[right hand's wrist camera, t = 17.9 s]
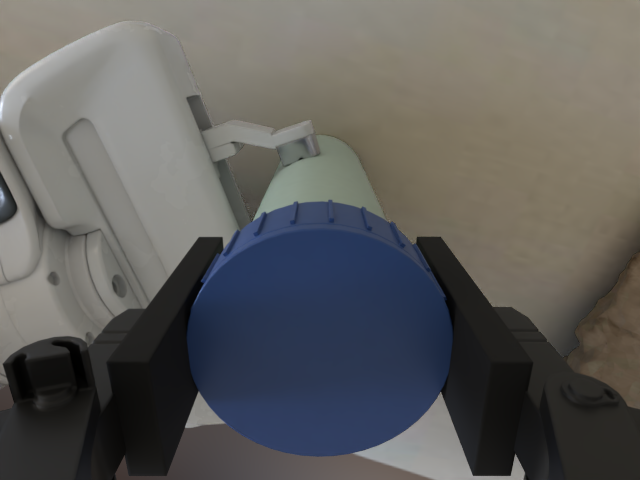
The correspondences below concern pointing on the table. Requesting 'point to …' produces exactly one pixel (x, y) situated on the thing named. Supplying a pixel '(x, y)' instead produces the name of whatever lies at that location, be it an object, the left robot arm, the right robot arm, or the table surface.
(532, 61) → the table surface
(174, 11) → the table surface
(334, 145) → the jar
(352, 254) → the lid
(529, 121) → the table surface
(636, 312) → the stone
